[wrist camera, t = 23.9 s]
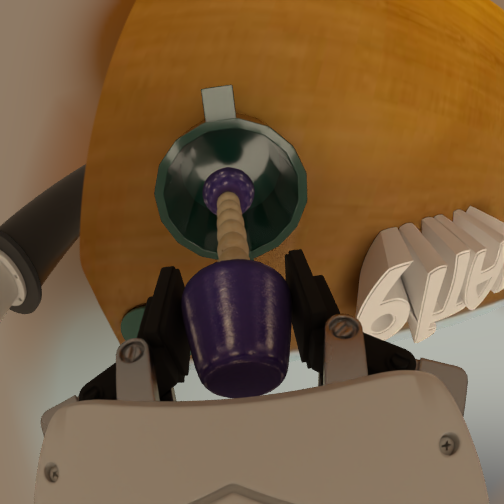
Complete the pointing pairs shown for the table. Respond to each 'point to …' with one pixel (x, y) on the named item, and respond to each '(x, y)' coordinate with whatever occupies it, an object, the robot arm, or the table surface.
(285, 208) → the pot
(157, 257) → the table surface
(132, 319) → the lid
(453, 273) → the wavy white extrusion
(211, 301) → the toy lamp
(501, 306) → the table surface
